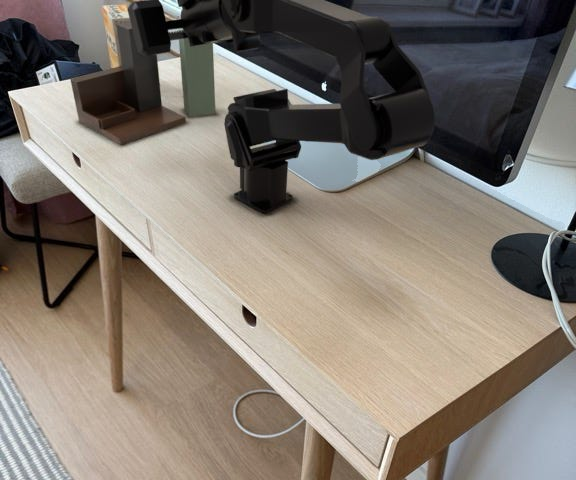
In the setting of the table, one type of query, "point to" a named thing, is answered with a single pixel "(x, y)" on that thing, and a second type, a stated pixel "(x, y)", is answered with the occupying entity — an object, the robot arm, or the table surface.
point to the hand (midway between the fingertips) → (172, 30)
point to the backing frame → (124, 95)
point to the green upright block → (197, 78)
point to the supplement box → (114, 30)
